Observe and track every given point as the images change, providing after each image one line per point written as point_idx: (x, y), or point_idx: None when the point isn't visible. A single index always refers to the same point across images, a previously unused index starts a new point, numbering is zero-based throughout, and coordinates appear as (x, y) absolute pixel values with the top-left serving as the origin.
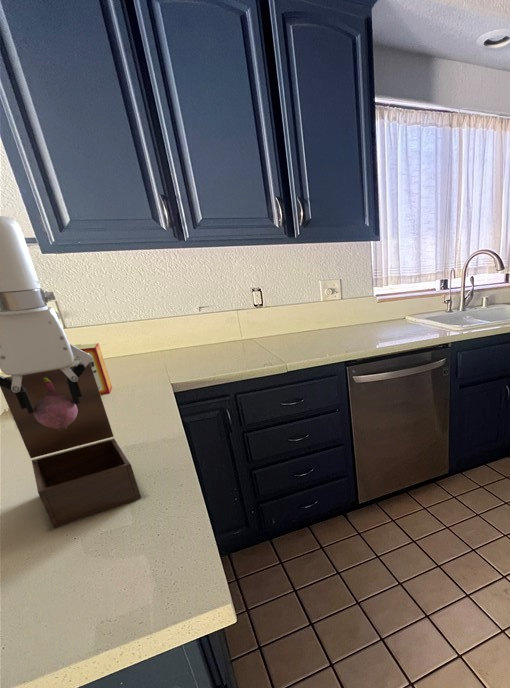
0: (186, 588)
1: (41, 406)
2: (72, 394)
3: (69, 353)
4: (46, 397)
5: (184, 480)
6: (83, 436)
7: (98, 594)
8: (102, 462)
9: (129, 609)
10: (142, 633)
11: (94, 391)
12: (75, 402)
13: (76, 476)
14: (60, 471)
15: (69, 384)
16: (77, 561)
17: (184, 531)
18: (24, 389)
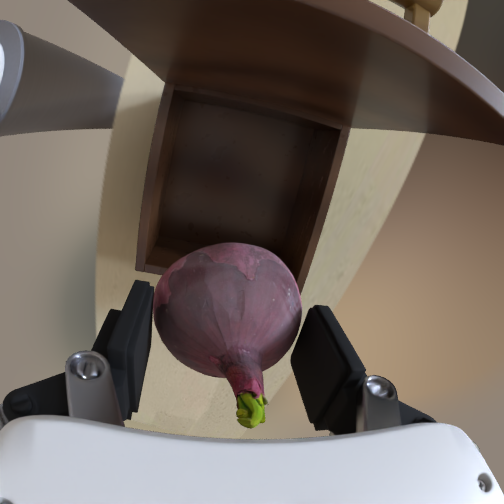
0: (224, 424)
1: (180, 359)
2: (300, 389)
3: None
4: (212, 367)
5: (352, 265)
6: (297, 106)
7: (165, 390)
8: (294, 121)
9: (181, 415)
10: (181, 432)
11: (432, 130)
12: (293, 363)
13: (236, 108)
14: (212, 101)
15: (314, 423)
16: (159, 337)
17: (269, 371)
18: (132, 383)
